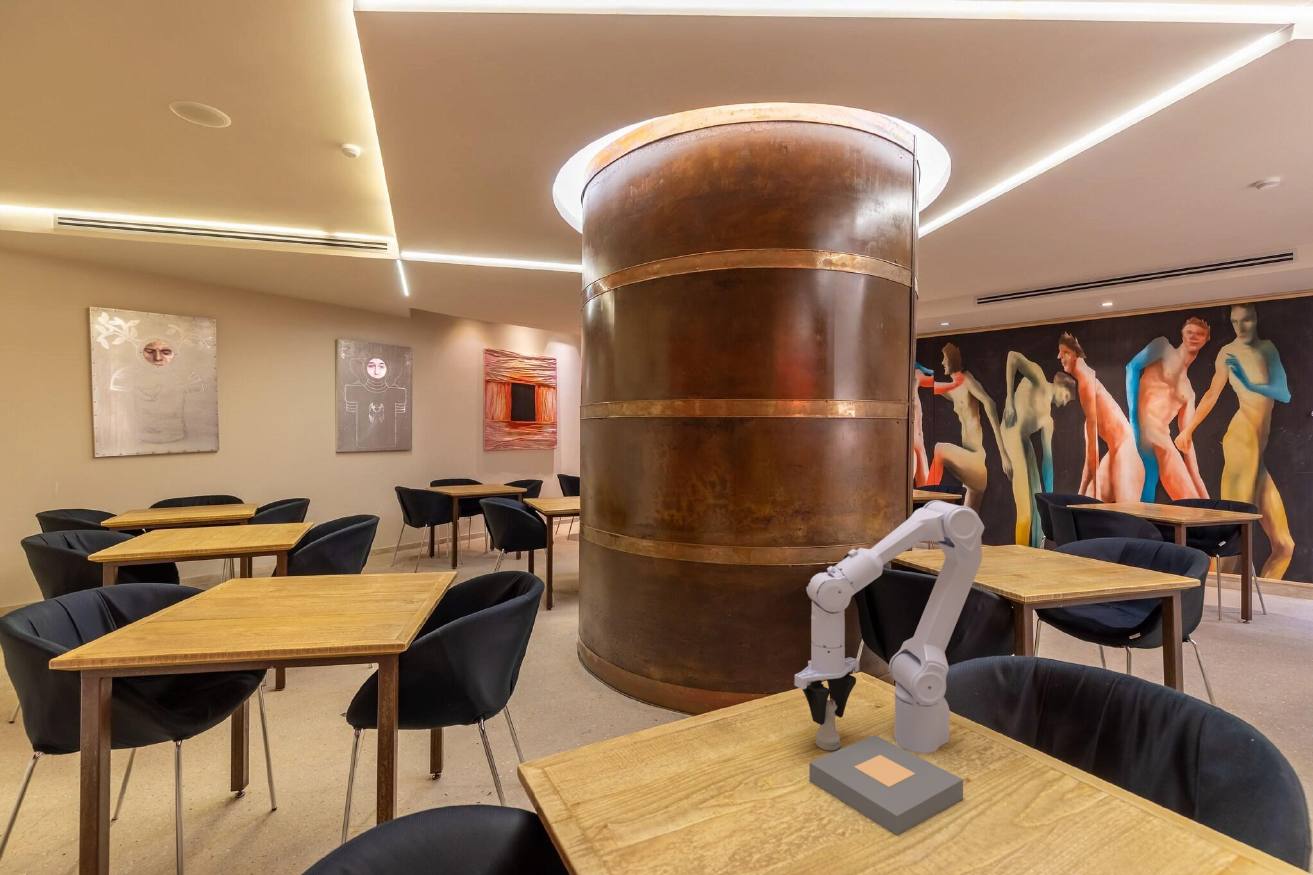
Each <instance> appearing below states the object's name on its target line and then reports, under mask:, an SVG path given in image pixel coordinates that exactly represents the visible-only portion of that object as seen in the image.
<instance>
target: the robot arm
mask: <svg viewBox="0 0 1313 875" xmlns="http://www.w3.org/2000/svg"><path fill="white" fill-rule="evenodd" d="M984 530H985V525H984V524H983V521H982V520H981V518H980V517H979V514H978V513H977V512H976V511H975V510H974V509H973V508H971V507H969V506H966V505H958V504H953V503H949V502H946V501H943V500H940V499H936V500H935V499H933V500H930V501H928V502H927V503H925V504H924V505H923V507H920V508H917V509H916V510H914V512H913V513H912V514H911V516H909V518H908V519H906V520H905V521H904V522H903V523H901V524H899V526H897V527H896V528H895V529H894V530H892V531H891V532H890V533H889V534H887V535H886V536H885V537H884V538H882V539H881V540H880V541H878V542H877V543H876V544H875V545H873V547H871V548H869V549H868V548H863V547H859V548H858V549H855V548H852V549H850V550H849V551H848V553H847V554H848V556H847V557H845V558H844V559H842V560H841V561H840V562H838V563H837V564H836V565H834V566H832V565H829V567H827V568H826V570H827V571H825V572H818V573H817V574H815V575H813V576H812V578H810V582H808V586H806V593H807V596H808V598H809V599H810V600H811V616H810V619H811V623H810V624H811V631H810V635H811V636H810V637H811V640H810V641H811V642H810V644H811V646H810V647H811V652H810V655H811V656H810V658H811V659H810V660H808V661H807V666H806V667H805V668H804V669H803V670H801V671H800V672H798V673H796V674H794V686H795V687H797V688H799V689H801V690H802V692H803V694H804V696H805V699H806V701H807V704H808V707H809V710H810V715H811V719H812V721H813V722H814V723H816V724H818V725H819V726H820V725H823V724H824V722H825V714H826V704H827V700H829V699H830V698H832V699H833V700H835V704H836V705H837V709H836V710H835V714H836V717H837V718H840V719H841V718H843V716H844V714H845V709H846V706H847V703H848V699H849V697H850V694H851V692H852V690H853V689H854V687H855V685H856V684H857V677H856V676H854V675H851V674H850V672H854V673H857V672H859V671H860V660H858V659H856V658H853V657H846V658H845V656H846V654H845V653H846V652H845V651H846V646H845V640H846V639H845V636H846V634H845V631H846V624H845V623H846V621H845V620H846V619H845V618H846V617H845V609H847V608H848V606H849V605H850V602H851V600H852V597H853V595H855V594H857V593H858V592H860V591H861V590H862V589H864V588H865V587H867V586H868V585H869V584H871V583H872V582H873V581H874V580H876V579H878V578H879V577H880V576H882V574H883V571H884V570H883V569H884V565H885V564H887V563H888V562H890V561H892V560H894V559H895V558H896V557H898V556H899V555H902V554H903V553H904V552H906V551H907V550H909V549H911V548H913V547H914V546H915V545H917V544H919V543H920V542H937V543H938V545H939V547H940V549H941V551H942V552H943V554H944V556H945V558H944V561H943V564H942V566H941V569H940V571H939V573H938V575H937V578H936V580H935V583H934V586H933V588H932V590H931V593H930V595H929V599H928V601H927V603H926V605H925V608H924V610H923V612H922V614H921V618H920V620H919V623H918V625H917V627H916V630H915V632H914V635H913V637H911V638H909V639H906V640H905V641H903V642H902V645H901V647H900V649H899V650H898V651H897V652H896V653H895V654H894V655H893V656H892V657H891V658H890V660H889V663H888V664H889V665H888V672H889V674H890V676H891V678H892V679H893V680H894V681H895V688H894V741H895V744H896V745H897V746H898V747H900V748H902V749H904V750H906V751H908V752H909V751H910V752H912V753H913V752H914V753H916V754H917V753H918V754H932V753H935V752H936V751H938V749H939V748H940V747H941V746H943V745H945V744H947V743H949V742H950V718H951V717H950V712H951V711H950V707H949V704H948V702H947V700H946V698H945V697H944V696H945V694H946V691H947V676H948V672H949V671H950V670H949V663H948V660H947V657H946V650H947V646H948V645H949V642H950V641H951V637H952V635H953V633H954V630H955V627H956V624H957V623H958V621H959V618H960V615H961V613H962V611H963V608H964V605H965V603H966V601H967V598H968V595H969V593H970V591H971V589H972V586H973V584H974V581H975V579H976V576H977V574H978V571H979V568H980V566H981V563H982V561H983V552H982V551H983V550H982V549H983V548H982V536H983V533H984ZM824 681H827V682H826V683H827V685H828V687H826V686H825V685H824V683H822V682H824Z"/></svg>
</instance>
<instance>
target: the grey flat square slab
mask: <svg viewBox="0 0 1313 875" xmlns="http://www.w3.org/2000/svg"><path fill="white" fill-rule="evenodd" d="M808 769H809V770H808V771H809V772H808V773H809V782H810V783H811V784H813V785H815V786H817V787H818V788H819V789H821V790H823V791H825V792H826V793H828V794H829V795H831V796H832V797H834V798H836V799H837V800H839V801H841V802H842V803H843V804H845V805H847V806H849V807H850V808H851V809H854V810H855V811H857V812H858V813H860V814H862V815H863V816H865V817H866V818H867V819H870V820H871V821H873V822H874V823H876V824H877V825H879V826H881V827H882V828H884V829H885V830H887V831H889V832H890V833H892V834H894V835H895V836H899V835H901V834H902V833H904V832H906V831H909V830H910V829H912V828H914V827H916V826H917V825H919V824H921V823H923V822H925V821H927V820H929V819H930V818H932V817H935V816H936V815H938V814H940V813H941V812H943V811H945V810H947V809H948V808H950V807H952V806H953V805H956V804H957V803H959V802H960V801H962V800H963V799H964V778H961V777H959V776H957V775H955V774H953V773H952V772H949V771H947V770H945V769H944V768H941V767H940V766H937V765H935V764H933V763H932V762H929V761H927V760H926V759H924V758H921V757H919V756H918V755H915V754H913V752H912V753H911V751H910V752H909V750H906V749H904V748H902V747H901V746H899V745H897V744H896V745H895V744H894V743H891V741H888V740H886V739H885V738H882V737H880V736H878V735H876V734H873V735H871V736H868V737H865V738H864V739H862V740H859V741H857V742H855V743H852V744H850V745H848V746H845V747H842V748H840V749H837V750H834V751H832V752H830V753H828V754H826V755H824V756H822V757H819V758H817V759H813V760H812V761H810V762H809V768H808Z"/></svg>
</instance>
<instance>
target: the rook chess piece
mask: <svg viewBox="0 0 1313 875" xmlns="http://www.w3.org/2000/svg"><path fill="white" fill-rule="evenodd" d="M836 709H837V705H836V704H835V700H833V699H832V698H830V697H829V699H827V704H826V714H825V722H824V724H823V725H820V724H819V728H817V731H816V733H815V739H814V742H815V745H816V746H817V748H819V749H821V750H823V751H828V752H830V751H831V752H835V751H838V750H839V748H840V747H841V745H842V743H841V736H840V734H839V732H838V729H837V727H836V717H837V716H836V714H835V710H836Z"/></svg>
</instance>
